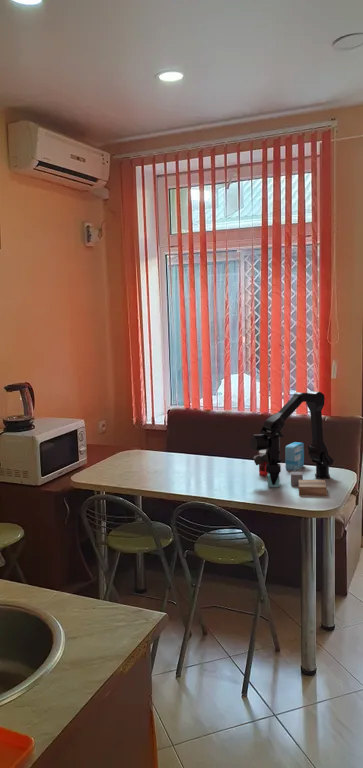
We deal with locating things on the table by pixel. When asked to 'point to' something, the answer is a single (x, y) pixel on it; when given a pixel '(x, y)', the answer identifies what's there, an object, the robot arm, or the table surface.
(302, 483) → the walnut base block
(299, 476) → the gray cube
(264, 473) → the canned food
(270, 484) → the teal cube
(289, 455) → the data package
